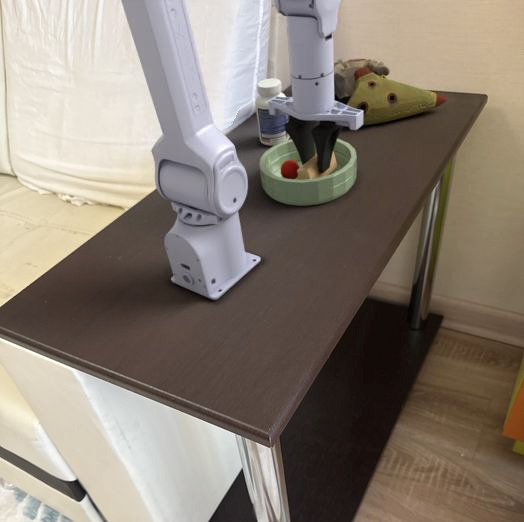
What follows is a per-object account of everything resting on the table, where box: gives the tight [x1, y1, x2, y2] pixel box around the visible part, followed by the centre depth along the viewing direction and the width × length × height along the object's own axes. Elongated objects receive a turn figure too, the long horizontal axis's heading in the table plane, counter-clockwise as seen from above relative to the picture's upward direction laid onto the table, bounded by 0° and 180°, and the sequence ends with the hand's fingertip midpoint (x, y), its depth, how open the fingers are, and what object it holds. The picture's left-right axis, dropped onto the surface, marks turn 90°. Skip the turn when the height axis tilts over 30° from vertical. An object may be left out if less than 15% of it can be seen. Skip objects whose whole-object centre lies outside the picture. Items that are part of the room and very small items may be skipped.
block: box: [297, 151, 337, 180], centre depth 79 cm, size 7×2×3 cm, turn 143°
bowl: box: [259, 138, 358, 207], centre depth 81 cm, size 15×15×4 cm
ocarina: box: [347, 67, 448, 126], centre depth 92 cm, size 20×5×10 cm
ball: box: [281, 160, 299, 179], centre depth 81 cm, size 3×3×3 cm
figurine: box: [334, 58, 391, 105], centre depth 101 cm, size 10×14×15 cm
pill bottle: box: [254, 78, 290, 147], centre depth 90 cm, size 5×5×10 cm
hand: (316, 167), depth 79 cm, fingers closed on block, 2 cm apart
